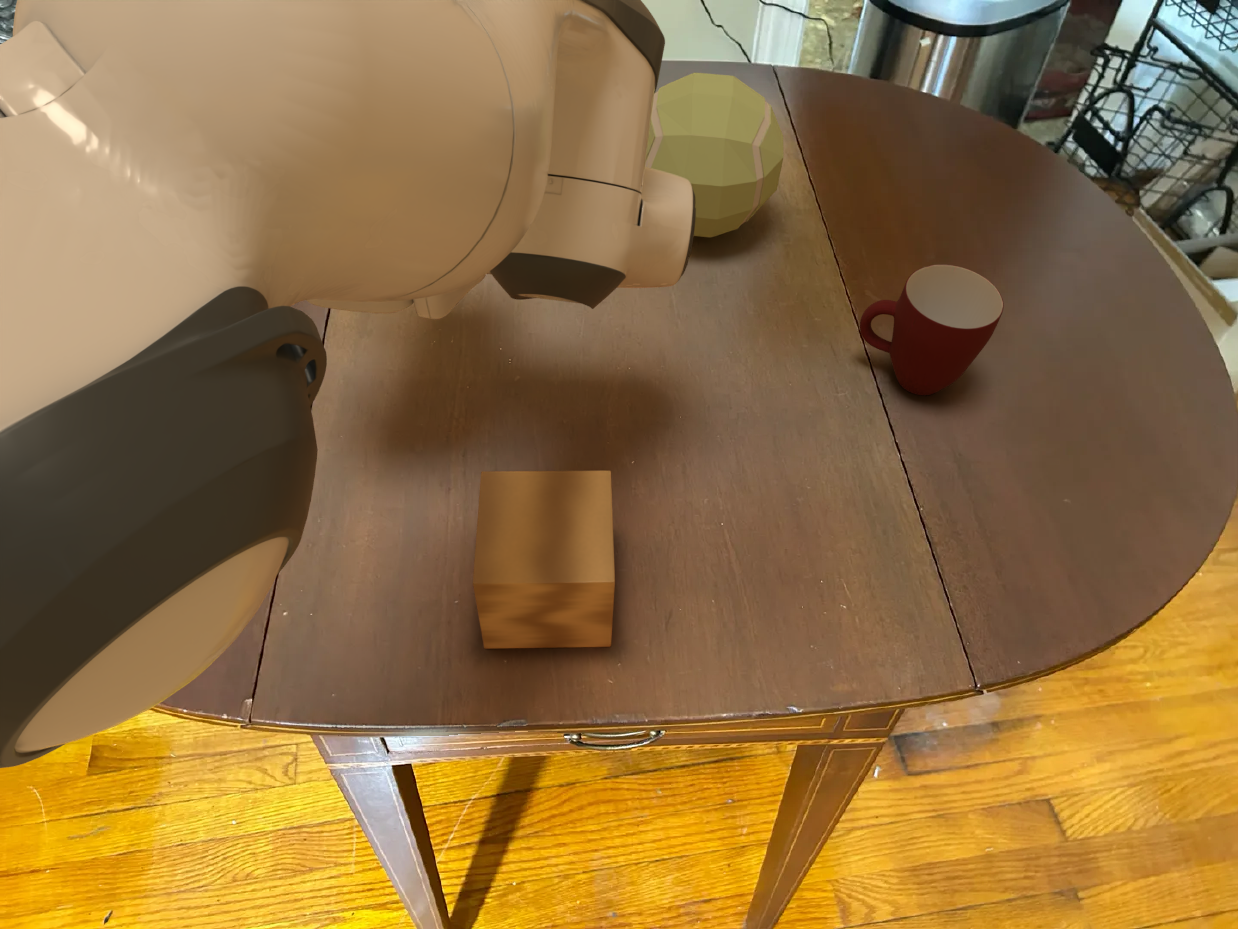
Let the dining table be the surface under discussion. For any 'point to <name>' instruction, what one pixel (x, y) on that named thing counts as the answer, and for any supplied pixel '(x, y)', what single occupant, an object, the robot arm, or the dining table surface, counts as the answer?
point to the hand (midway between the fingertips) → (276, 184)
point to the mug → (936, 325)
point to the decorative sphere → (717, 147)
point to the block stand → (545, 559)
